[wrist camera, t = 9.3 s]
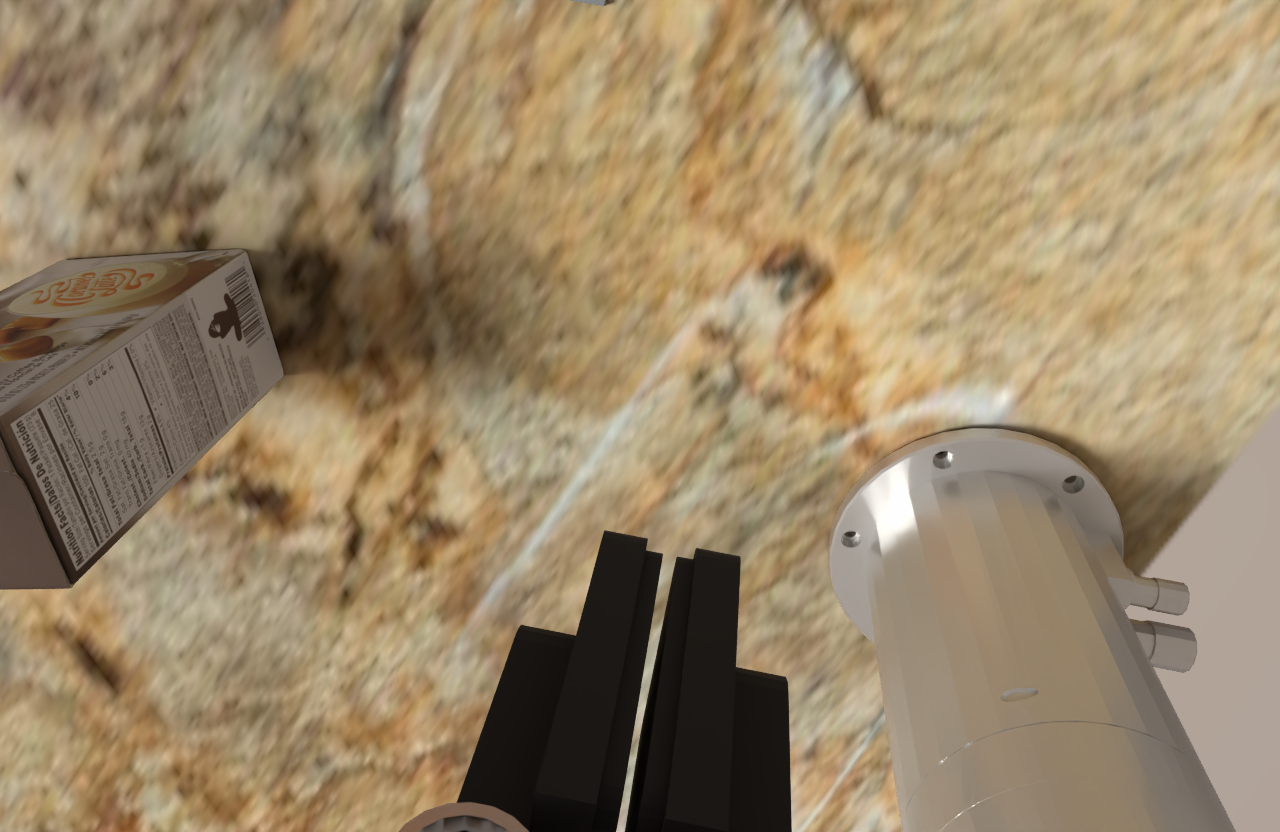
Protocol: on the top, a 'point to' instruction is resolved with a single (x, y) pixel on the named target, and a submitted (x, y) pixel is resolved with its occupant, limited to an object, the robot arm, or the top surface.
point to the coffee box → (117, 396)
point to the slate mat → (593, 2)
